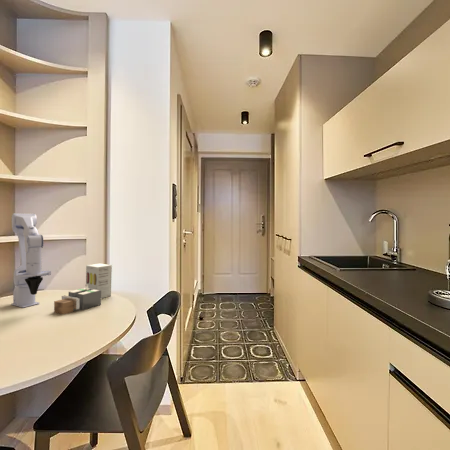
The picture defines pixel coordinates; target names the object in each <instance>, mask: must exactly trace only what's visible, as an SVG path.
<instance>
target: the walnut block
mask: <svg viewBox="0 0 450 450" xmlns="http://www.w3.org/2000/svg"><path fill="white" fill-rule="evenodd" d="M53 302H54V303H53V305H54V306H53V307H54V309H53V312H54V313H55V314H60V315H66V314H70V313H73V312H74V309H73V301H72V300H68V299H62V298H61V299H59V300H54V301H53Z"/></svg>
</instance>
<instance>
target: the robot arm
mask: <svg viewBox="0 0 450 450" xmlns="http://www.w3.org/2000/svg"><path fill="white" fill-rule="evenodd" d="M37 219H38V217H37V214H36V213H15V212H13V213H12V214H11V230H12V232H13V233H15V234H17V238H18V249H19V251H18V252H19V263H20V266H18V267H17V268H15V269H14V271H13V285H14V286H15V287H14V288H13V290H12V291H13V293H12V294H13V295H12V299H13V300H12V303H11V306H15V307H19V308H26V307H27V308H28V307H31V306H35V305H39V304H40V302H38V301H36V295H37V294H38V290H39V287H40V285H41V283H42V282H43V279H44V278H43V277H45V276H51V275H52V270H42V263H43V261H42V259H43V258H42V257H43V255H42V253H43V252H42V249H43V247H44V244H45V243H44V236H43V234H40V233H39V230H38V228H37V226H36V225H37V223H38V220H37Z"/></svg>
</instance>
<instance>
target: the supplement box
mask: <svg viewBox="0 0 450 450" xmlns="http://www.w3.org/2000/svg"><path fill="white" fill-rule="evenodd" d="M112 265H113V264H106V263H105V264H104V263H101V262H99V263H94V264H86V268H85V269H86V270H85V285H86V284H88V288H91V289H96V290H101V299H103V298H108V297H111V296H112V272H113V269H112V267H113V266H112Z"/></svg>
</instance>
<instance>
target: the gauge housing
mask: <svg viewBox="0 0 450 450" xmlns="http://www.w3.org/2000/svg"><path fill="white" fill-rule="evenodd" d="M67 296H70V297H77V298H80V303H79V309H78V310H80V311H81V310H82V311H85V310H89V309H91V308H95V307H98V306H101V305H102V298H101V290H96V289H91V288H88V291H86V292H85V287H84V288H78V289H75V290H71V291H70V290H69V291H68V295H67Z"/></svg>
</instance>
